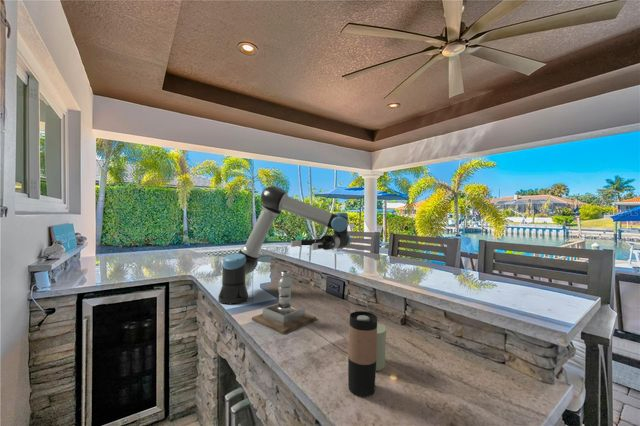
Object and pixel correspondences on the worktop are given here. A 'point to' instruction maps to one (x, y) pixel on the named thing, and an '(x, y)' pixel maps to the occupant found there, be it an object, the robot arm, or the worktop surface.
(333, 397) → the worktop surface
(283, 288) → the plastic bottle
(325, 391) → the worktop surface
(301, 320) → the board
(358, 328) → the travel mug
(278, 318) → the grey square tray
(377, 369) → the can
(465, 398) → the worktop surface
